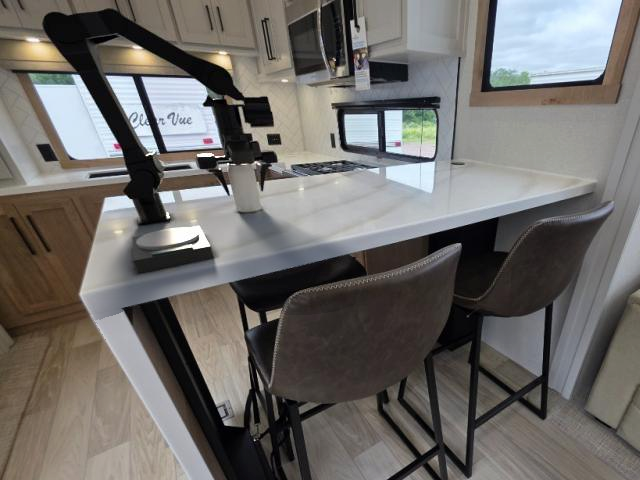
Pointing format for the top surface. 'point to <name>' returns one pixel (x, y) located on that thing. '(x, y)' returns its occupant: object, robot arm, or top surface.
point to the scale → (170, 248)
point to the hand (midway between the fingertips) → (245, 193)
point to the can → (244, 187)
